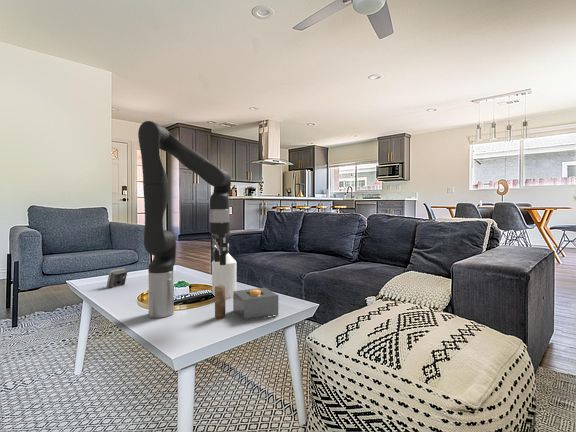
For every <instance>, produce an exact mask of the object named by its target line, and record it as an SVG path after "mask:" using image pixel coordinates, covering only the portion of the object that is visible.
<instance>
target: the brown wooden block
mask: <svg viewBox="0 0 576 432" xmlns="http://www.w3.org/2000/svg"><path fill="white" fill-rule="evenodd" d="M226 314H227V313H226V298H225V286H224V285H218V286H215V298H214V318H215V320H224V319H226Z"/></svg>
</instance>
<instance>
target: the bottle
mask: <svg viewBox="0 0 576 432" xmlns="http://www.w3.org/2000/svg"><path fill="white" fill-rule="evenodd" d="M229 247H230V244H229V243H228V248H229ZM223 251H224V250H223ZM237 267H238V265H237V261H236V259H235V258H234V257H233V256H232V255H231V254H230V253H229V252H228V254H227V255H226V265H220V262H215V261H214V260H213V261H211V285H212V286H211V288H212V290H211V291H212V292H211V294H213V295H214V296H215V286H218V285H224V286H225V299H230V298H231V299H232V298H233V291H237Z"/></svg>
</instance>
